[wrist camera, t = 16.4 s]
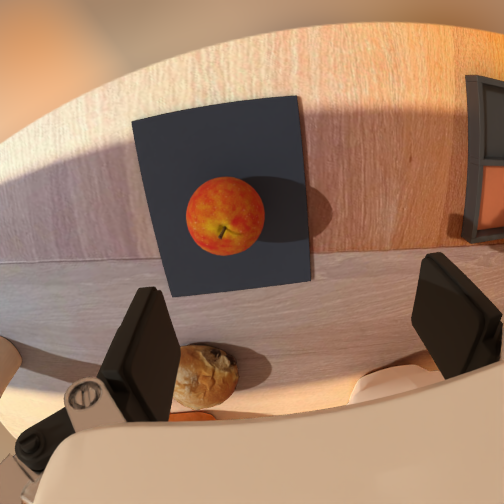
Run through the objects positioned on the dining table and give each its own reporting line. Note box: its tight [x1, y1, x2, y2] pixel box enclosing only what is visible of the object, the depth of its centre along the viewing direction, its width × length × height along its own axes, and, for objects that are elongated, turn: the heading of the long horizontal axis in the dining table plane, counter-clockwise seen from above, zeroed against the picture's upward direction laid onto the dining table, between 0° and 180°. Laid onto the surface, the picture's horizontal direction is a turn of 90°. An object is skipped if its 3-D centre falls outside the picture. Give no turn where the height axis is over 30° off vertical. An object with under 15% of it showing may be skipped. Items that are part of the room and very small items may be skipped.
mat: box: [132, 96, 311, 297], centre depth 31 cm, size 20×16×1 cm
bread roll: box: [173, 345, 239, 410], centre depth 39 cm, size 10×10×8 cm
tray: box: [461, 75, 504, 244], centre depth 29 cm, size 20×11×2 cm, turn 7°
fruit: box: [186, 177, 265, 256], centre depth 28 cm, size 7×7×8 cm
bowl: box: [347, 365, 445, 405], centre depth 40 cm, size 22×22×12 cm
